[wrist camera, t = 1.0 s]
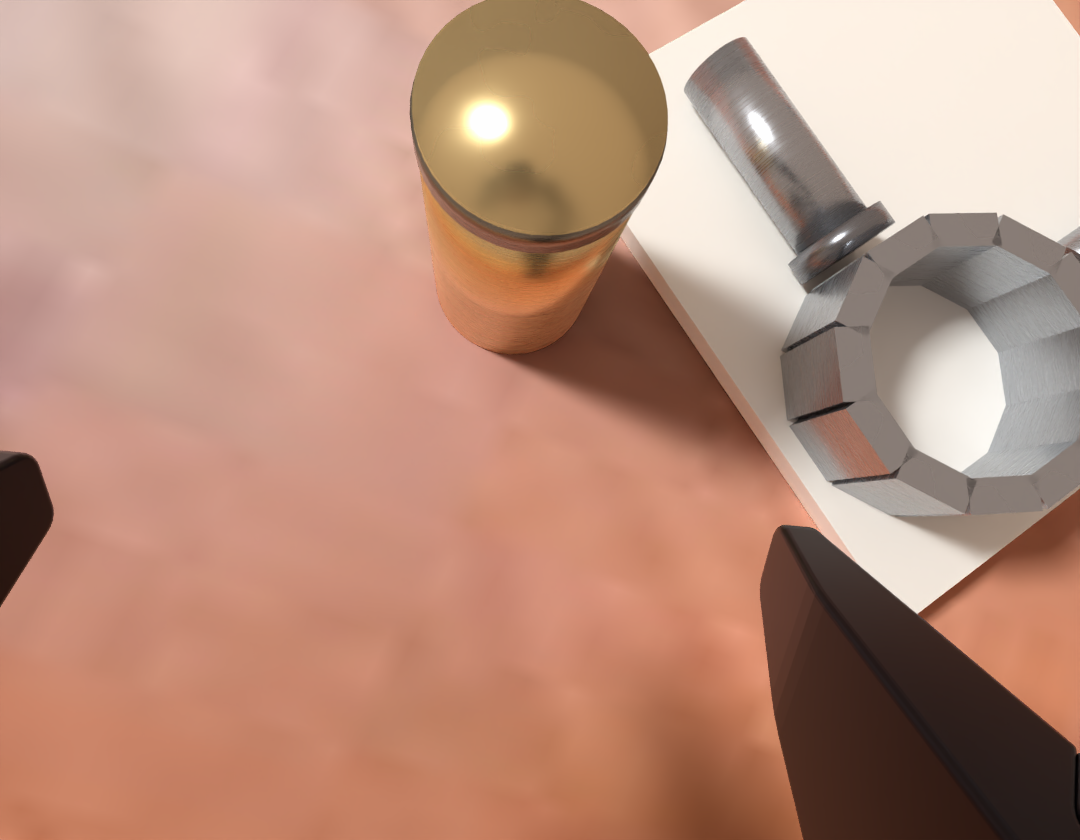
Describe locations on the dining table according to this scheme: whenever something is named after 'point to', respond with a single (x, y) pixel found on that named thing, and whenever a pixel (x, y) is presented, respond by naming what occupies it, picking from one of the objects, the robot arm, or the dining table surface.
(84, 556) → the dining table surface
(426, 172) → the cylinder
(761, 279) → the mounting plate
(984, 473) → the steel cradle
